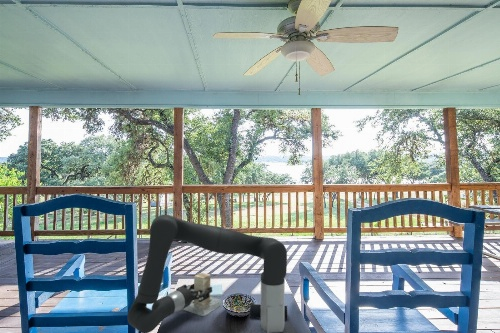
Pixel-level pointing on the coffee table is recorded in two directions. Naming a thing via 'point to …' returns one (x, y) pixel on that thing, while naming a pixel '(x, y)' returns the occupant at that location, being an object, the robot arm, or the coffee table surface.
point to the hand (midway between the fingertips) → (203, 287)
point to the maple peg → (202, 286)
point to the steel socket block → (203, 307)
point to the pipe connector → (256, 311)
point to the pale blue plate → (216, 290)
